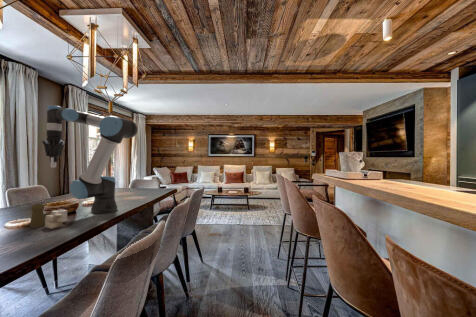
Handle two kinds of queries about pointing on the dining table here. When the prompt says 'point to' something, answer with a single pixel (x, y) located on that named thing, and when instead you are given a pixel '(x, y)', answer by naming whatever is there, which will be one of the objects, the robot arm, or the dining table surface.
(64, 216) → the cream block numbered 7
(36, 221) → the olive green tall block
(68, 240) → the dining table surface
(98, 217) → the dining table surface
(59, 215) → the birch block numbered 1
